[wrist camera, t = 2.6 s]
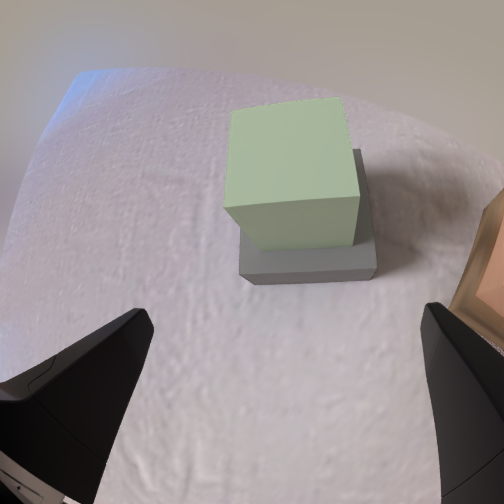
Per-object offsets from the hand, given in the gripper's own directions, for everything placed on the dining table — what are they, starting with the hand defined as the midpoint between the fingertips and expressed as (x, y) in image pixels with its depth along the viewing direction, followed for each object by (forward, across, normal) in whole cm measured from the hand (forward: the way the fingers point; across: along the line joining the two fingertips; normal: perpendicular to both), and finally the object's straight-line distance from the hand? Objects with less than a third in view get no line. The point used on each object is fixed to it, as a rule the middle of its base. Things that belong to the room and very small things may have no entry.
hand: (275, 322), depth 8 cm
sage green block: (+12, 0, +1) cm, 13 cm away
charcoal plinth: (+15, 0, +4) cm, 16 cm away
